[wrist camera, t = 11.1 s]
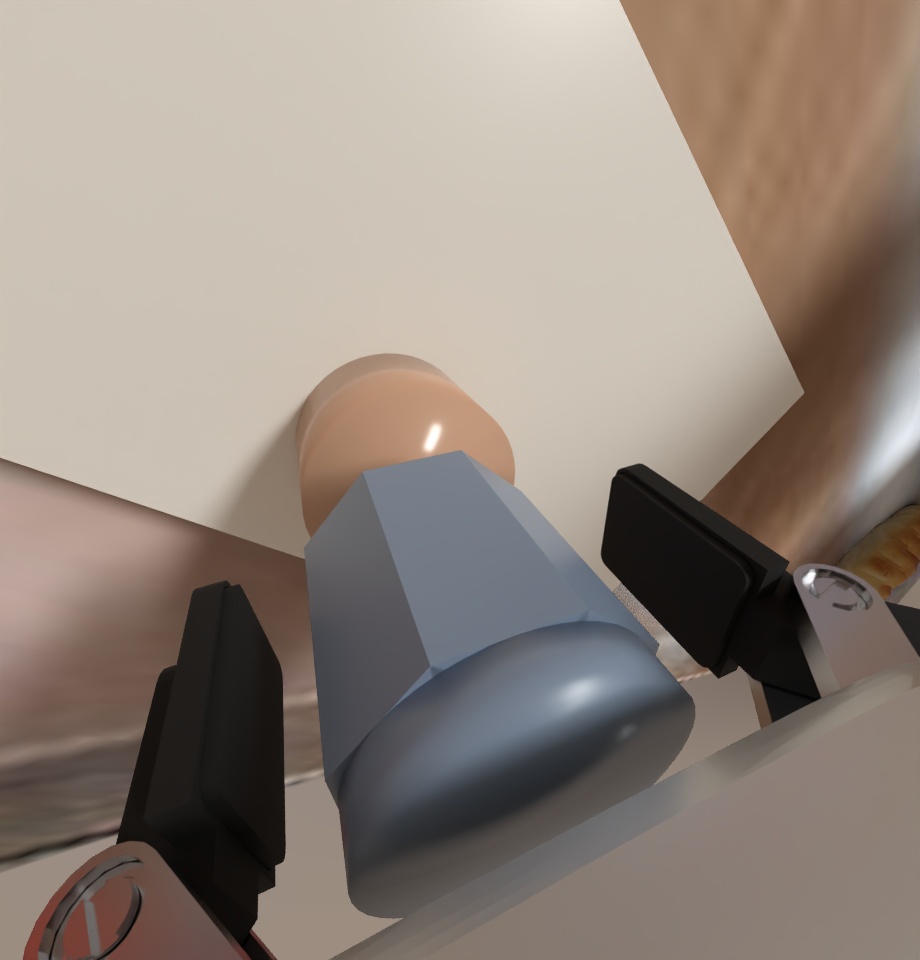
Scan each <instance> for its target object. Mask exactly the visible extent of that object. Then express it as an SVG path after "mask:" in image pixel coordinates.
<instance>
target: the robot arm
mask: <svg viewBox="0 0 920 960" xmlns="http://www.w3.org/2000/svg"><path fill="white" fill-rule="evenodd" d="M601 558H602V561H603V563H604V564H605V566H606V567H607V568H608V569H609V570H610V571H611V572H612V573H613V574H614V575H615V576H616V577H617V579H618V580H619V581H620V582H621V583H622V584H623V585H624V586H625V587H626V588H627V589H628V590H629V591H630V592H631V593H632V594H633V595H634V596H635V597H636V599H637V600H638V601H639V602H640V603H641V604H642V605H643V606H644V607H645V608H646V609H647V610H648V611H649V612H650V613H651V614H652V615H653V616H654V618H655V619H656V620H657V621H658V622H659V623H660V624H661V625H662V626H663V627H664V628H665V629H666V630H667V631H668V632H669V633H670V634H671V635H672V637H673V638H674V639H675V640H676V641H677V642H678V643H679V644H680V645H681V646H682V647H683V648H684V649H685V650H686V651H687V652H688V653H689V654H690V655H691V657H692V658H693V659H694V660H695V661H696V662H697V663H698V664H700V665H701V666H703V667H706V668H709V669H710V670H711V672H712V673H713V674H714V675H715V676H716V677H717V678H721V677H723V676H725V675H727V674H729V673H731V672H733V671H736V670H737V668H738V666H740V667H741V668H742V669H743V670H744V671H745V672H746V673H747V676H748V680H749V684H750V688H751V692H752V696H753V700H754V703H755V708H756V712H757V715H758V719H759V723H760V727H761V729H760V730H758V731H756V732H755V733H753V734H751V735H749V736H747V737H745V738H743V739H741V740H739V741H738V742H735V743H734V744H731V745H730V746H728V747H726V748H724V749H722V750H720V751H718V752H716V753H714V754H712V755H710V756H708V757H706V758H704V759H703V760H701V761H699V762H697V763H695V764H693V765H691V766H689V767H687V768H685V769H684V770H682V771H680V772H678V773H676V774H674V775H672V776H670V777H668V778H666V779H664V780H663V781H661V782H659V783H657V784H655V785H653V786H651V787H649V788H647V789H645V790H643V791H642V792H640V793H638V794H636V795H634V796H632V797H630V798H628V799H626V800H624V801H623V802H621V803H619V804H617V805H615V806H613V807H611V808H609V809H607V810H605V811H604V812H602V813H600V814H598V815H596V816H594V817H592V818H590V819H588V820H586V821H585V822H583V823H581V824H579V825H577V826H575V827H573V828H571V829H569V830H567V831H566V832H564V833H562V834H560V835H558V836H556V837H554V838H552V839H551V840H549V841H547V842H545V843H543V844H541V845H539V846H537V847H536V848H534V849H532V850H530V851H528V852H526V853H524V854H522V855H520V856H519V857H517V858H515V859H513V860H511V861H509V862H507V863H505V864H504V865H502V866H500V867H498V868H496V869H494V870H492V871H490V872H489V873H487V874H485V875H483V876H481V877H479V878H477V879H475V880H473V881H472V882H470V883H468V884H466V885H464V886H462V887H460V888H458V889H457V890H455V891H453V892H451V893H449V894H447V895H445V896H443V897H442V898H440V899H438V900H436V901H434V902H432V903H430V904H428V905H427V906H425V907H423V908H421V909H419V910H418V911H416V912H414V913H412V914H410V915H409V916H407V917H405V918H403V919H402V920H400V921H398V922H396V923H394V924H393V925H391V926H389V927H387V928H385V929H384V930H382V931H380V932H379V933H376V934H375V935H373V936H371V937H369V938H367V939H366V940H364V941H362V942H360V943H358V944H357V945H355V946H353V947H351V948H349V949H348V950H346V951H344V952H342V953H340V954H338V955H337V956H335V957H333V958H332V959H329V960H920V609H916V608H912V607H907V606H903V605H898V604H894V603H889V602H885V601H883V599H882V597H881V596H880V595H879V593H878V592H877V591H876V590H875V589H874V588H873V587H872V586H871V585H870V584H868V583H867V582H866V581H865V580H863V579H862V578H860V577H858V576H856V575H854V574H853V573H851V572H848V571H846V570H843V569H840V568H838V567H834V566H830V565H825V564H814V563H811V564H805V565H801V566H800V567H798V568H796V569H795V571H794V573H793V575H791V574H790V573H788V572H787V571H785V570H786V568H787V566H788V564H789V561H788V560H786V559H785V558H783V557H782V556H780V555H779V554H777V553H776V552H774V551H773V550H771V549H770V548H768V547H767V546H765V545H764V544H762V543H761V542H759V541H758V540H756V539H755V538H753V537H752V536H750V535H749V534H747V533H746V532H744V531H743V530H741V529H740V528H738V527H737V526H735V525H734V524H732V523H731V522H729V521H728V520H726V519H725V518H723V517H722V516H720V515H719V514H717V513H716V512H714V511H713V510H711V509H710V508H709V507H707V506H706V505H704V504H703V503H701V502H700V501H698V500H697V499H695V498H694V497H692V496H691V495H689V494H688V493H686V492H685V491H683V490H682V489H680V488H679V487H677V486H676V485H674V484H673V483H671V482H670V481H668V480H667V479H665V478H664V477H662V476H661V475H659V474H658V473H656V472H655V471H653V470H652V469H650V468H649V467H647V466H646V465H644V464H640V463H638V464H635V465H631V466H627V467H624V468H621V469H619V470H618V471H617V472H616V475H615V476H614V477H613V478H612V481H611V488H610V494H609V501H608V507H607V514H606V520H605V527H604V533H603V540H602V546H601ZM285 846H286V842H285V785H284V728H283V678H282V670H281V666H280V663H279V661H278V659H277V657H276V655H275V653H274V651H273V649H272V647H271V645H270V643H269V641H268V639H267V637H266V635H265V633H264V631H263V629H262V627H261V625H260V623H259V621H258V619H257V617H256V615H255V613H254V611H253V609H252V607H251V605H250V603H249V601H248V599H247V597H246V595H245V593H244V591H243V589H242V587H241V586H240V585H239V584H237V585H234V586H231V585H230V584H229V582H227V581H222V582H218V583H215V584H211V585H208V586H204V587H201V588H197V589H195V590H194V591H193V594H192V597H191V602H190V606H189V611H188V615H187V620H186V625H185V629H184V634H183V638H182V643H181V648H180V652H179V657H178V661H177V665H174V666H171V667H168V668H166V669H164V670H163V671H162V673H161V674H160V676H159V678H158V681H157V684H156V688H155V692H154V696H153V700H152V704H151V708H150V712H149V716H148V720H147V723H146V727H145V731H144V735H143V739H142V743H141V747H140V751H139V755H138V759H137V763H136V767H135V771H134V775H133V779H132V783H131V787H130V791H129V795H128V799H127V803H126V807H125V811H124V815H123V818H122V822H121V826H120V830H119V834H118V838H117V842H116V845H114V846H111V847H109V848H107V849H106V850H104V851H102V852H100V853H99V854H97V855H95V856H94V857H92V858H91V859H89V860H88V861H87V862H86V863H85V864H84V865H82V866H81V867H80V868H79V869H78V870H76V871H75V872H74V873H73V874H72V875H71V876H70V877H69V878H68V879H67V880H66V881H65V883H64V884H63V885H62V886H61V887H60V889H59V890H58V891H57V892H56V893H55V894H54V895H53V896H52V898H51V899H50V901H49V903H48V904H47V906H46V907H45V909H44V910H43V912H42V913H41V915H40V917H39V918H38V920H37V921H36V923H35V926H34V928H33V931H32V933H31V935H30V937H29V940H28V942H27V945H26V947H25V951H24V956H23V960H277V959H276V957H275V956H274V955H273V954H272V953H271V952H270V950H269V949H268V948H267V947H266V946H265V944H264V943H263V942H262V941H261V940H260V939H259V937H258V936H257V935H256V934H255V933H254V931H253V930H252V927H253V925H254V924H255V922H256V920H257V917H258V915H257V912H258V894H260V893H262V892H264V891H267V890H268V889H271V888H273V887H275V865H278V864H280V863H282V862H283V861H284V858H285V849H286V847H285Z"/></svg>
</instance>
